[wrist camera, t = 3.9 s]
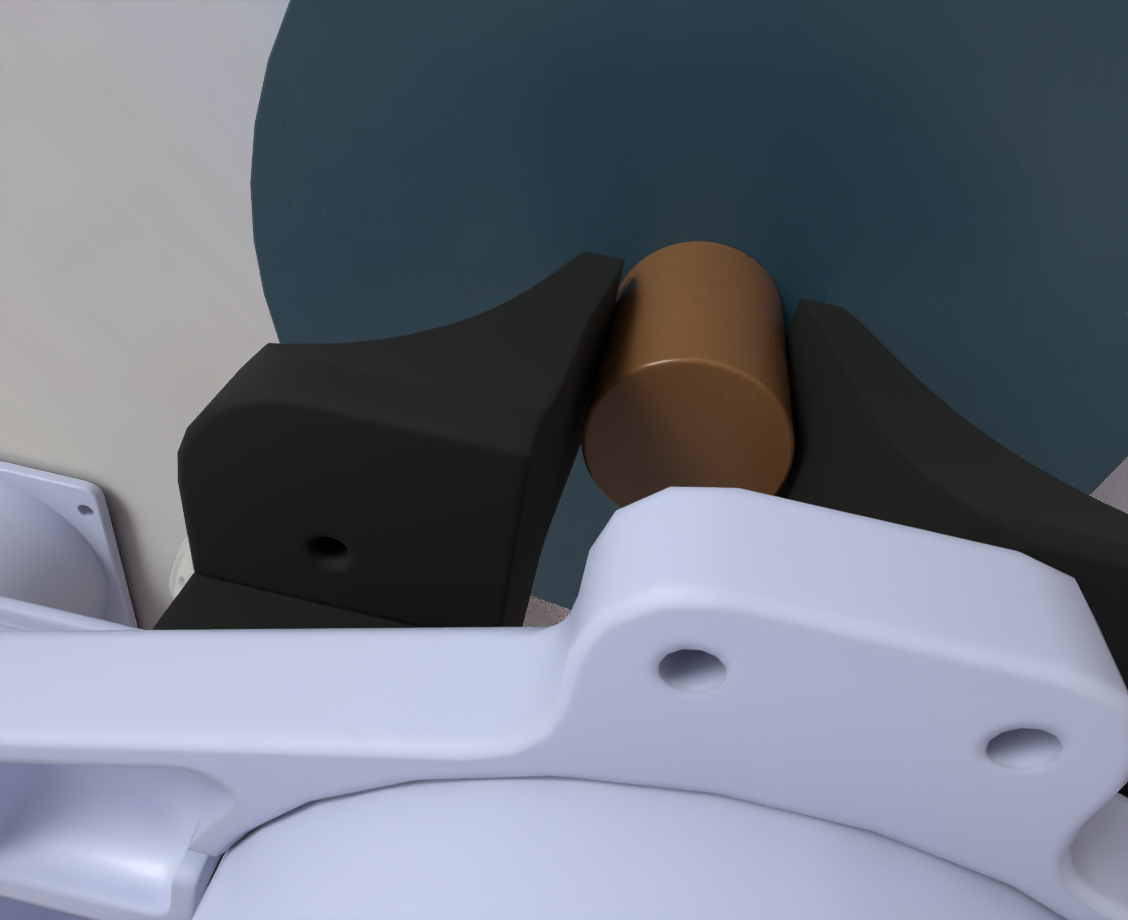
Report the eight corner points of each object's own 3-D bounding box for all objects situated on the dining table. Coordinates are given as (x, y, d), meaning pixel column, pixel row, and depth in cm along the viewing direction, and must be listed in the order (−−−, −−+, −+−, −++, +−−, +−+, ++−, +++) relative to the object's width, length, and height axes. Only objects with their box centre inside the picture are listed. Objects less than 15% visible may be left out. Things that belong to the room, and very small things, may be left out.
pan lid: (786, -733, 8) (834, -1241, 4) (1389, 326, 12) (1660, 531, 9) (136, 258, 15) (-51, 392, 12) (664, 680, 20) (648, 870, 16)
